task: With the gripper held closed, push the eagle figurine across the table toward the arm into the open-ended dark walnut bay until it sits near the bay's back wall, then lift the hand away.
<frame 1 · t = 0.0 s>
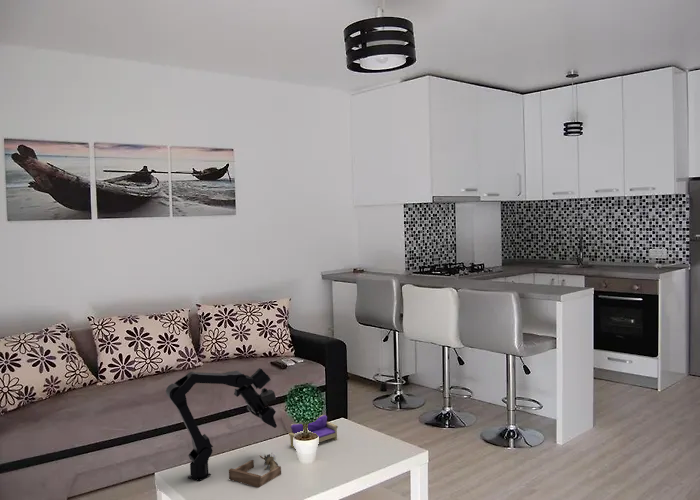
hand: (271, 424, 257), 15 cm above the table, tool tilted 35°, fingers open, 9 cm apart
walnut bay: (253, 478, 239), on the table
eagle figurine: (269, 469, 248), on the table
toy sofa: (314, 444, 274), on the table
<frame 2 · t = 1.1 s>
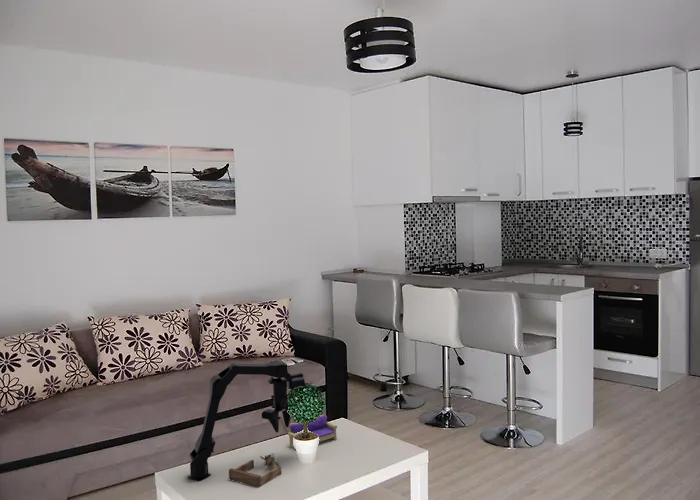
hand: (282, 429, 255), 13 cm above the table, tool pointing down, fingers open, 6 cm apart
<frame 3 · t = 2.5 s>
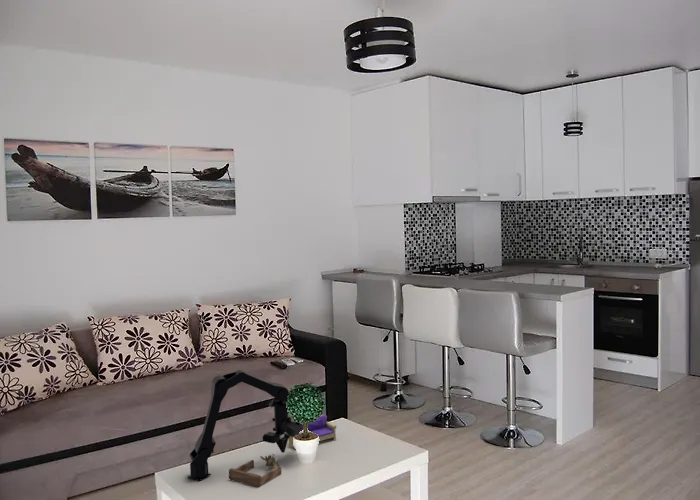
hand: (283, 452, 255), 4 cm above the table, tool pointing down, fingers closed
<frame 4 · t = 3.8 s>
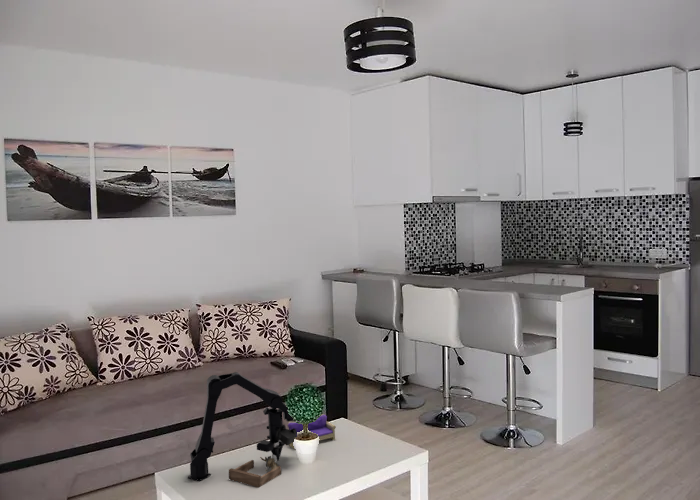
hand: (277, 460, 252), 1 cm above the table, tool pointing down, fingers closed
eagle figurine: (270, 471, 246), on the table, touching gripper
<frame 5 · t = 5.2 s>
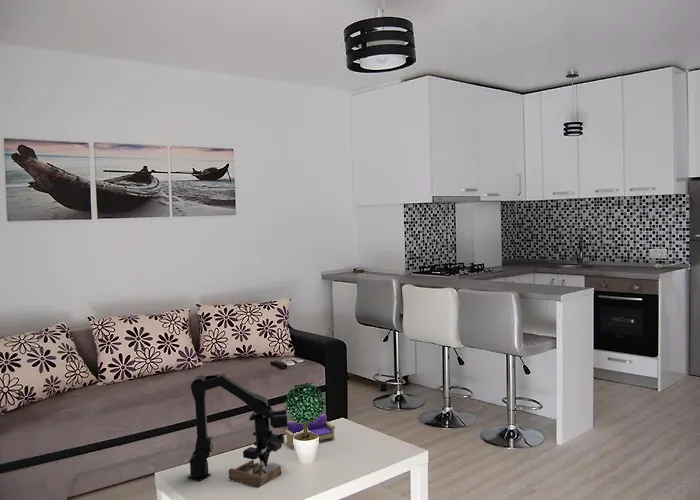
hand: (265, 466, 245), 2 cm above the table, tool pointing down, fingers closed
eagle figurine: (258, 478, 239), on the table, touching gripper, walnut bay
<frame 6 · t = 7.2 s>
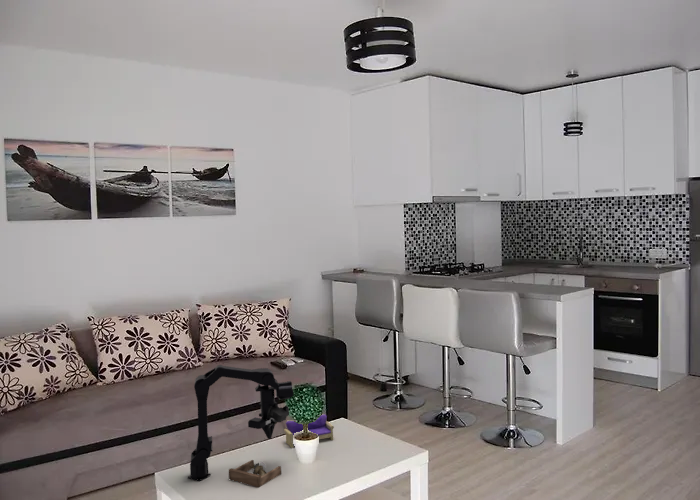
hand: (269, 438, 248), 12 cm above the table, tool pointing down, fingers closed
eagle figurine: (258, 478, 239), on the table
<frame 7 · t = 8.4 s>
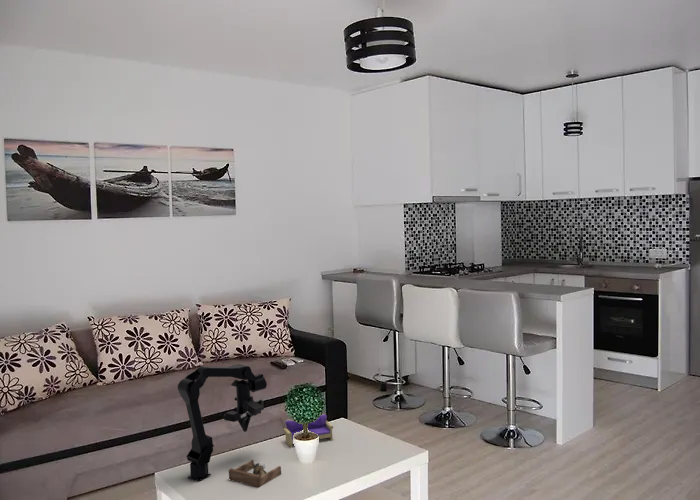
hand: (245, 431, 258), 12 cm above the table, tool pointing down, fingers closed
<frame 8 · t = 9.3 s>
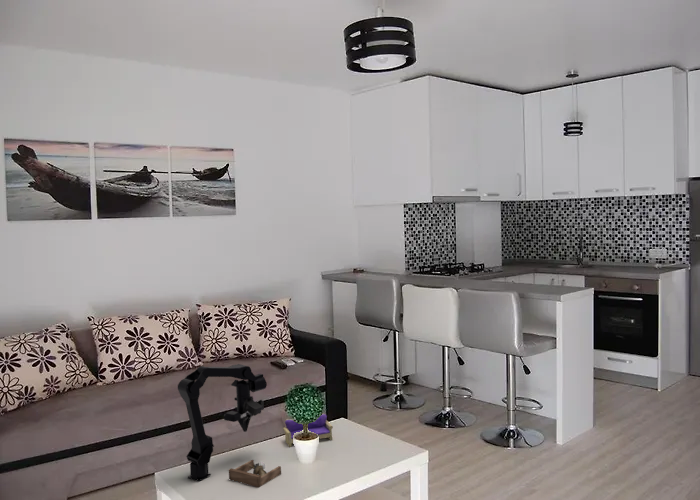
hand: (245, 431, 258), 12 cm above the table, tool pointing down, fingers closed
eagle figurine: (258, 478, 239), on the table, touching walnut bay
at the end: eagle figurine inside the target area (2.1 cm from its centre), on the table; eagle figurine tilted 0° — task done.
